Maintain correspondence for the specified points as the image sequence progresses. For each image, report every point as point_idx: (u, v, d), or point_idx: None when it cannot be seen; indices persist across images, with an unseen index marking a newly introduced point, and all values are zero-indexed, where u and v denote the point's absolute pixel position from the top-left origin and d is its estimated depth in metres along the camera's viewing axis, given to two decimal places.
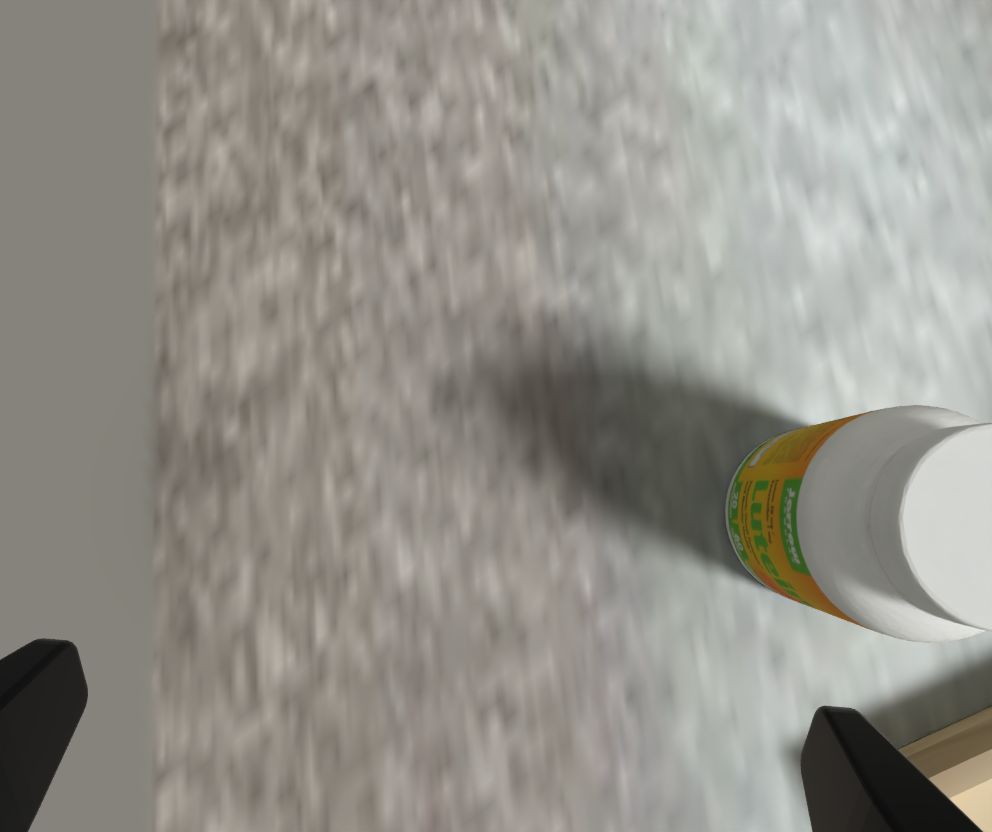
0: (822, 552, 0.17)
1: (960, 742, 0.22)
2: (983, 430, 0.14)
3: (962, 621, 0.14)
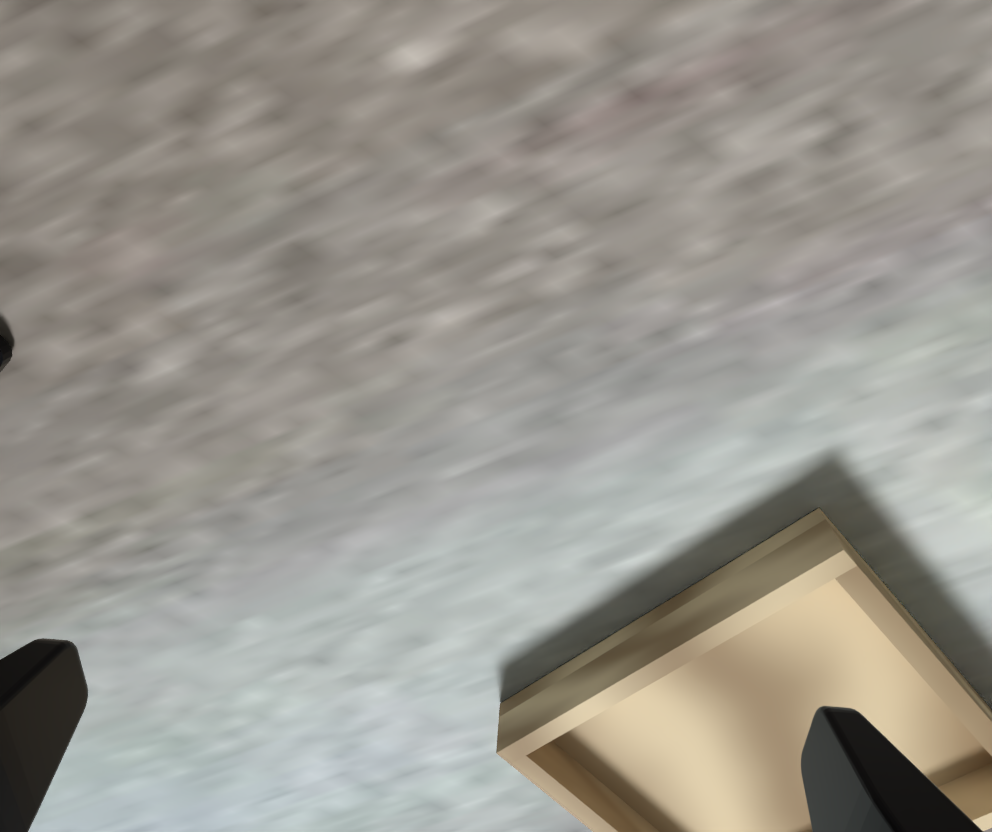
0: None
1: (889, 596, 0.23)
2: None
3: None
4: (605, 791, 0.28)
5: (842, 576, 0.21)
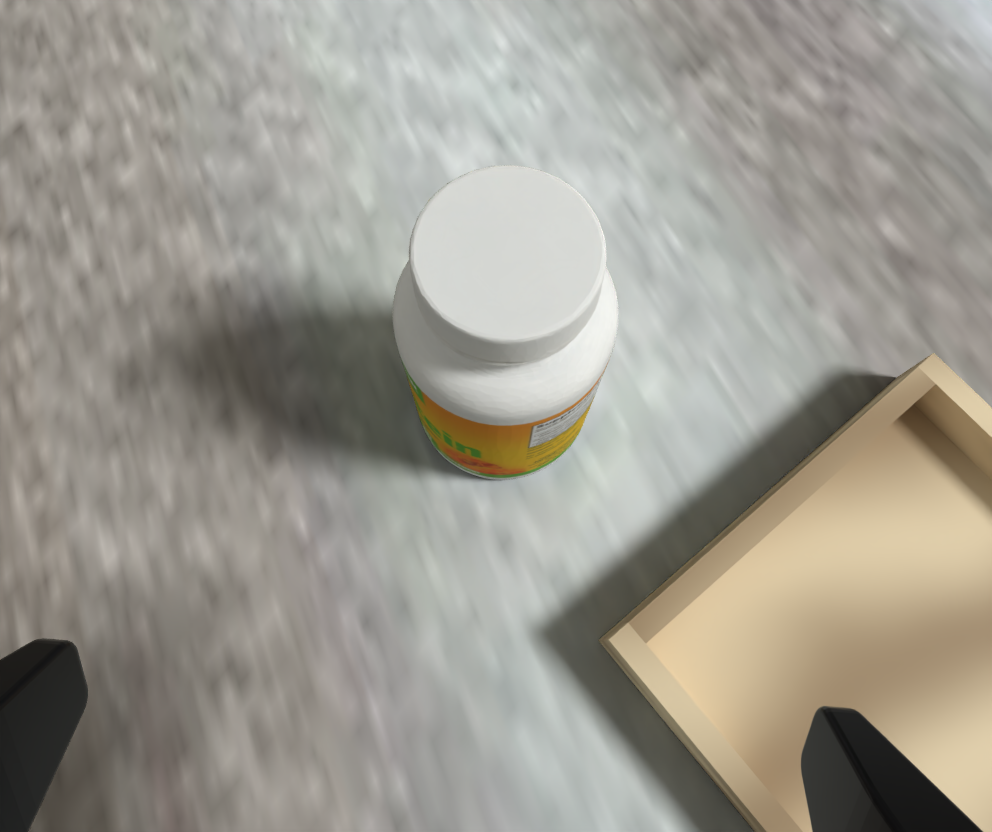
0: (409, 354, 0.17)
1: (686, 566, 0.22)
2: (471, 175, 0.15)
3: (489, 340, 0.14)
4: None
5: (643, 636, 0.20)
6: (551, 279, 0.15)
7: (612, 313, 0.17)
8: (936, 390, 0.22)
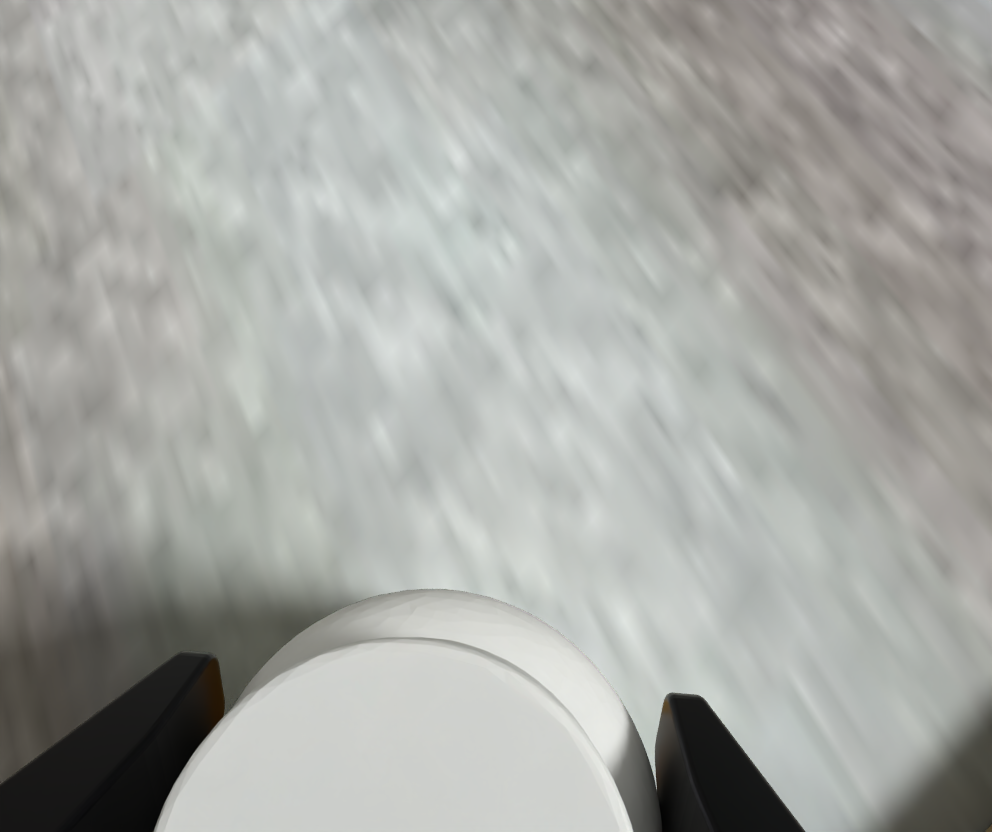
0: None
1: None
2: (305, 674, 0.06)
3: None
4: None
5: None
6: None
7: None
8: None
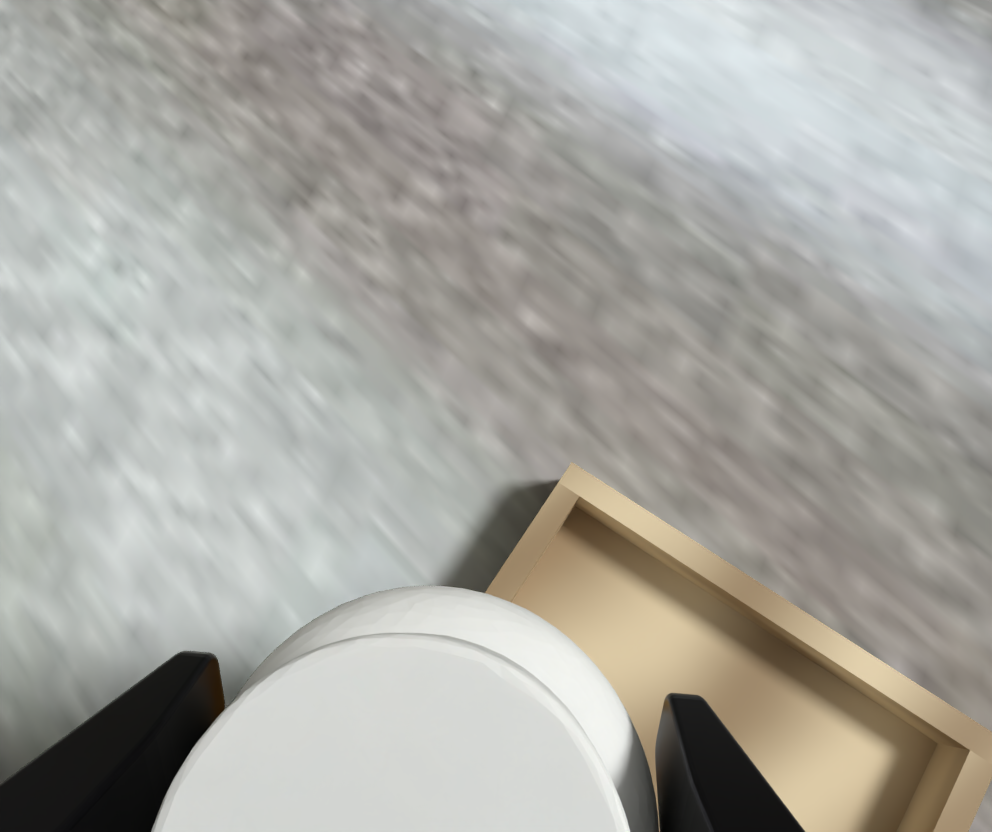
0: None
1: None
2: (303, 669, 0.06)
3: None
4: None
5: None
6: None
7: None
8: (583, 500, 0.21)
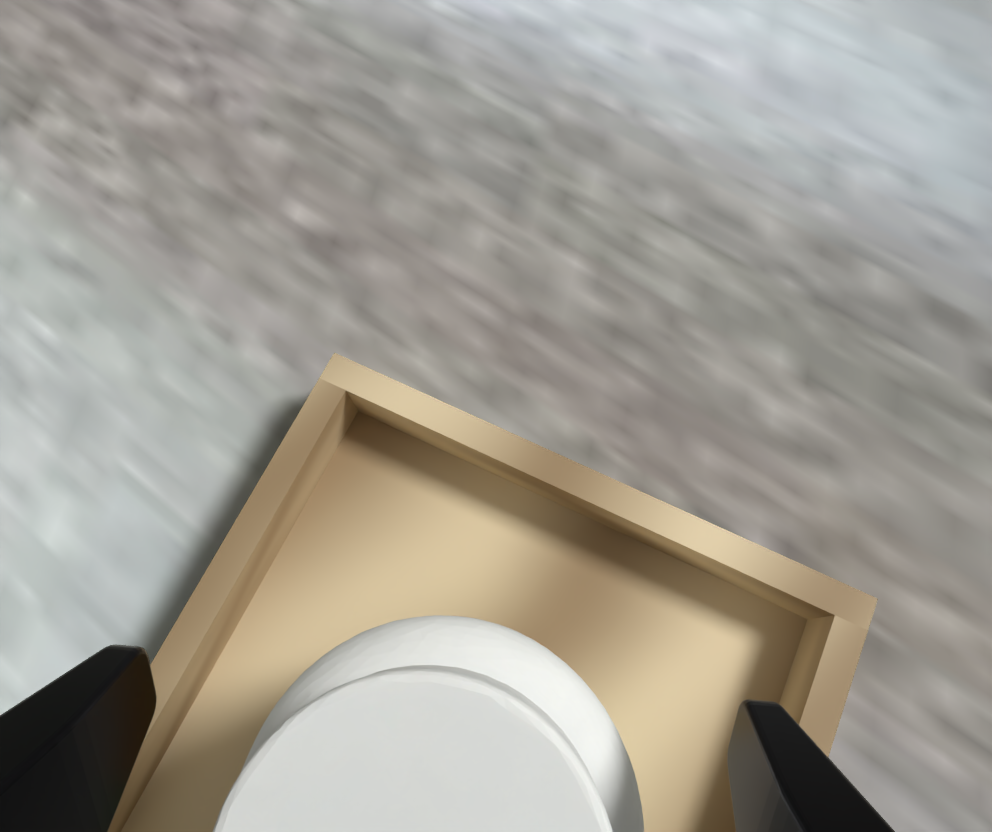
0: None
1: None
2: (336, 702, 0.07)
3: None
4: None
5: None
6: None
7: None
8: (354, 396, 0.17)
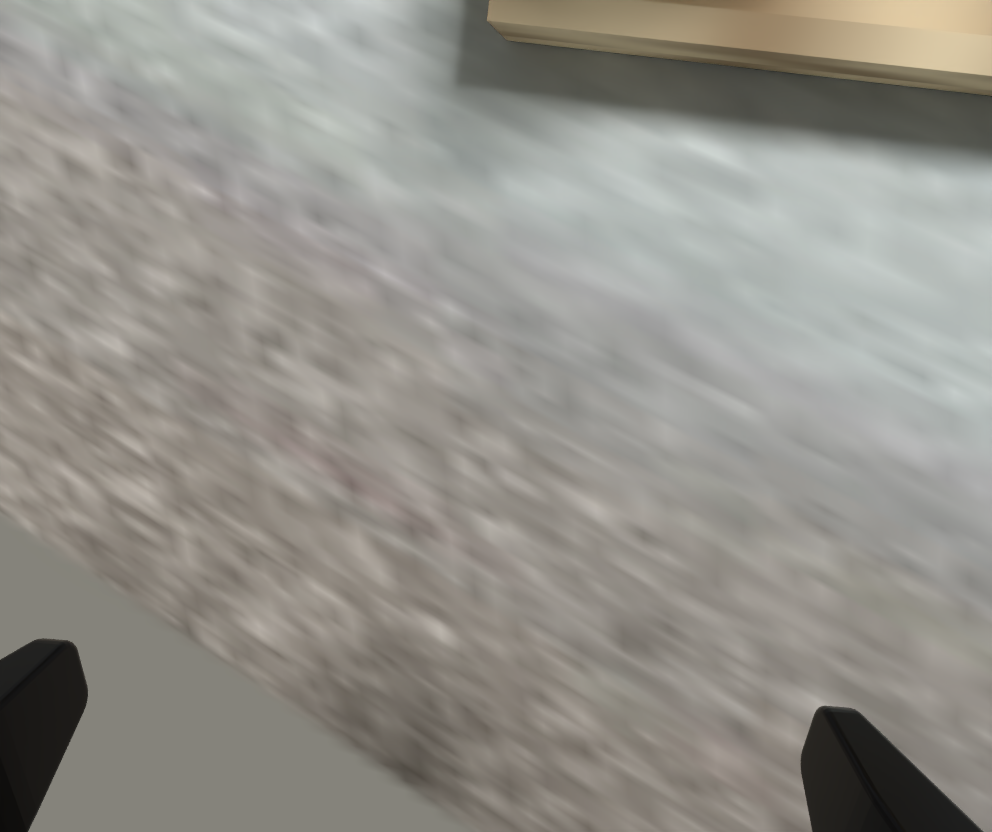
0: None
1: None
2: None
3: None
4: None
5: None
6: None
7: None
8: None
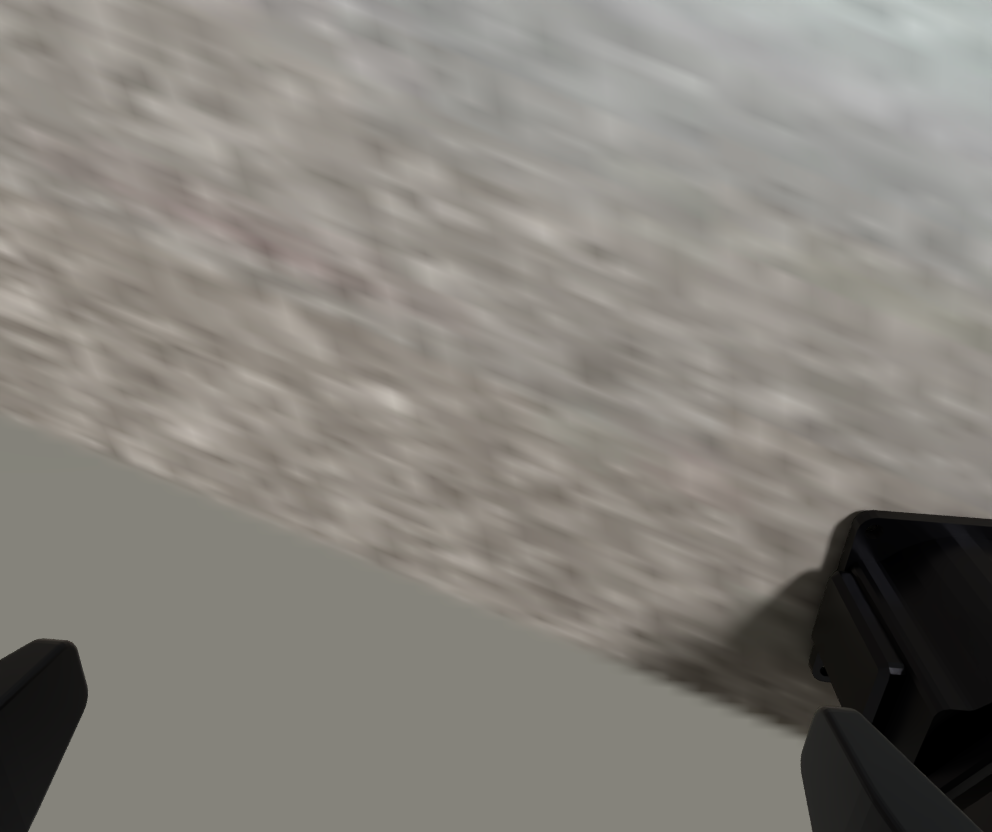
0: None
1: None
2: None
3: None
4: None
5: None
6: None
7: None
8: None
